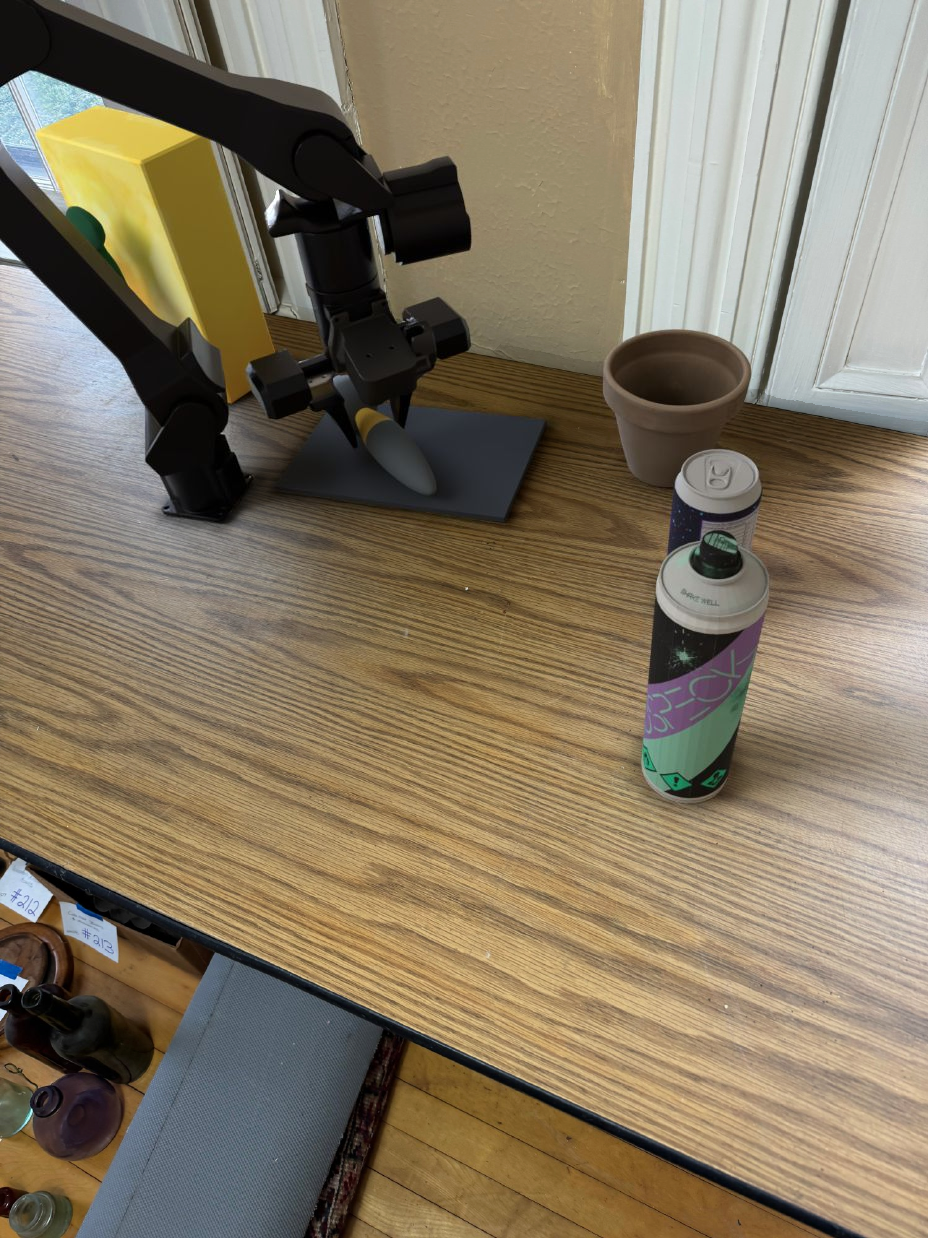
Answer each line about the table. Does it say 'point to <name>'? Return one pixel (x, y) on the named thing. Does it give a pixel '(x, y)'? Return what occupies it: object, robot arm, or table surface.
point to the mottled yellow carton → (162, 225)
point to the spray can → (701, 664)
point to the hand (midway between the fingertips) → (377, 437)
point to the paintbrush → (387, 441)
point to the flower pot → (672, 397)
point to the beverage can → (715, 498)
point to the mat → (452, 445)
